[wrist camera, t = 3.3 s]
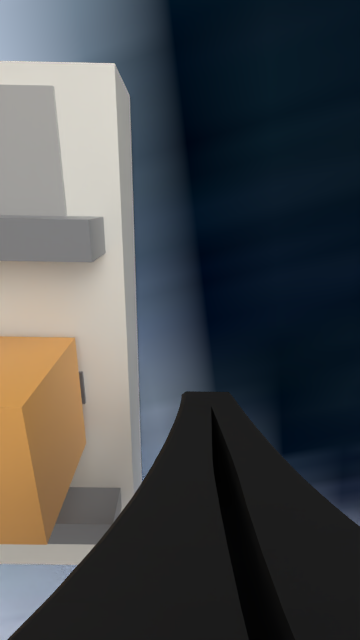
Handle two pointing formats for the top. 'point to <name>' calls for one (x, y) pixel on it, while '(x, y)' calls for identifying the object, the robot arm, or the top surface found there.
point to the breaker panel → (74, 272)
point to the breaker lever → (37, 434)
